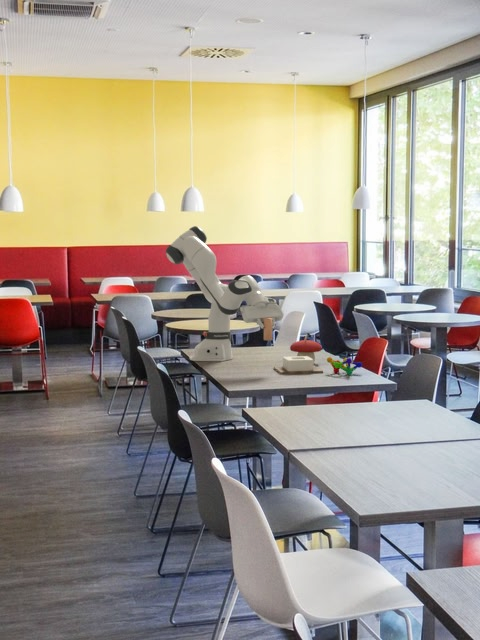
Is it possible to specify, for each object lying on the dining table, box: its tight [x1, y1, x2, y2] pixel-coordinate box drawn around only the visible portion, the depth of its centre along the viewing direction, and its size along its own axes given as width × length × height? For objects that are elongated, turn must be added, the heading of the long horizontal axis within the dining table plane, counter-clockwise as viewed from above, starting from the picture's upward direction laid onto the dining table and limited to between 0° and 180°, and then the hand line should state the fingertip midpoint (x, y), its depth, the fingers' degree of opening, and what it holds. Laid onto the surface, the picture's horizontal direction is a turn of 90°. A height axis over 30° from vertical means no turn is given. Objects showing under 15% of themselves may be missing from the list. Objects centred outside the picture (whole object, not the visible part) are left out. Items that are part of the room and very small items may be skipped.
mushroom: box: [289, 332, 323, 362], centre depth 421 cm, size 16×16×15 cm
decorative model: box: [326, 356, 363, 376], centre depth 389 cm, size 13×9×15 cm
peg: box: [263, 318, 273, 341], centre depth 393 cm, size 4×4×10 cm
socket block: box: [282, 356, 315, 371], centre depth 399 cm, size 12×12×5 cm
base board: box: [273, 365, 324, 375], centre depth 399 cm, size 20×16×1 cm
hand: (268, 327), depth 392 cm, fingers closed on peg, 4 cm apart
